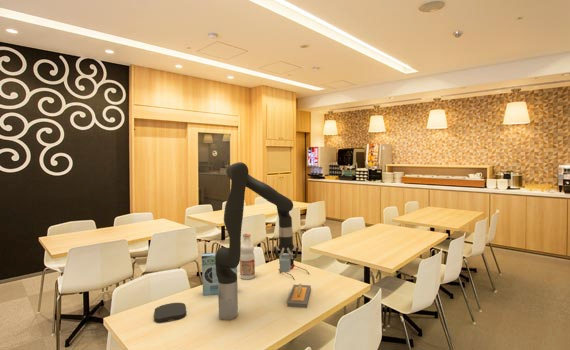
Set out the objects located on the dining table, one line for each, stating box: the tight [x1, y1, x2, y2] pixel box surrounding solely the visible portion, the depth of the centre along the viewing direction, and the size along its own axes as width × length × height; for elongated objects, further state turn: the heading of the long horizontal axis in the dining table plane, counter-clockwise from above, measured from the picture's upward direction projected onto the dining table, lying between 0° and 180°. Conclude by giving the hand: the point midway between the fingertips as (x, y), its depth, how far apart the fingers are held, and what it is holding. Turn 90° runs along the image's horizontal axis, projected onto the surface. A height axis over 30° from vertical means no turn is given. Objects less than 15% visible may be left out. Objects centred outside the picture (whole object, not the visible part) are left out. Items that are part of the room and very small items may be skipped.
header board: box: [286, 283, 312, 309], centre depth 175 cm, size 24×10×6 cm, turn 170°
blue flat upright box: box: [201, 252, 239, 296], centre depth 182 cm, size 20×5×23 cm, turn 98°
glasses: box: [278, 263, 310, 281], centre depth 211 cm, size 14×16×5 cm
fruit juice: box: [239, 233, 256, 281], centre depth 205 cm, size 9×9×28 cm
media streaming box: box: [153, 302, 187, 324], centre depth 157 cm, size 15×15×3 cm
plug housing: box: [279, 251, 293, 273], centre depth 176 cm, size 21×5×6 cm, turn 172°
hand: (286, 265), depth 173 cm, fingers closed on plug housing, 5 cm apart
